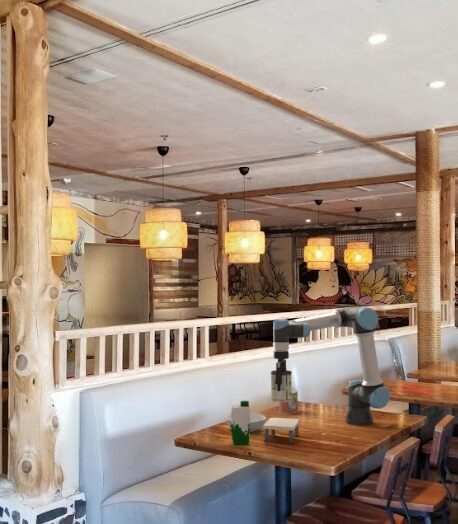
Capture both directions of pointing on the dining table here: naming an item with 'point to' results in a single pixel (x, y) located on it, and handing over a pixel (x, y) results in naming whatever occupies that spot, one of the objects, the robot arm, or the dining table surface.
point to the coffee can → (285, 387)
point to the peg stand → (281, 427)
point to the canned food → (290, 404)
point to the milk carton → (240, 423)
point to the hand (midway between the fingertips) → (281, 395)
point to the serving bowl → (251, 421)
